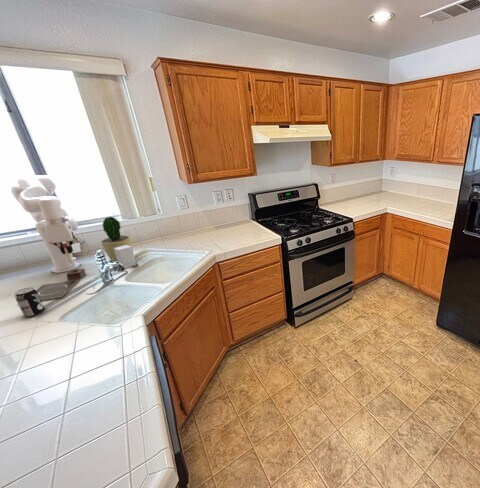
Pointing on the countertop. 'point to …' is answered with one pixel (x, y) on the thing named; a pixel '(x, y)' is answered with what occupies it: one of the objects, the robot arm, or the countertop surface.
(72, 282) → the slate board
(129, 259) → the white packaging box
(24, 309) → the beverage can
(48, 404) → the countertop surface
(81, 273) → the pen holder
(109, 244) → the potted cactus
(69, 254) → the marker
